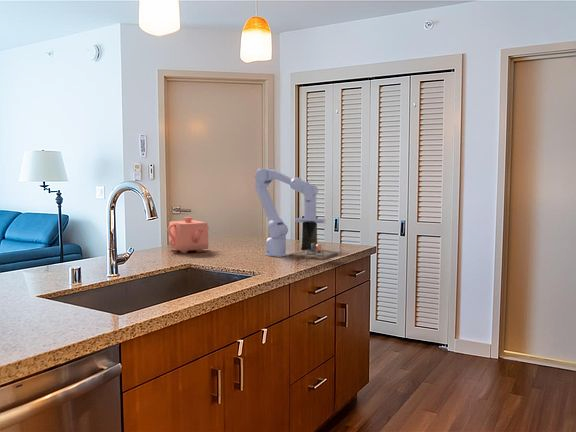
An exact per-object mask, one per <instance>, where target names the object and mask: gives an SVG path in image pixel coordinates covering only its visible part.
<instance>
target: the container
mask: <svg viewBox="0 0 576 432" xmlns="http://www.w3.org/2000/svg"><path fill="white" fill-rule="evenodd" d="M301 218H304V215H302V217H301ZM316 219H319V218H318V216H317V215H316ZM308 222H314V221H308ZM301 225H302V226H301V227H302V229H301V231H302V232H301V233H302V234H301V236H302V238H301V247H300V249H301V250H300V251H304V250H311V243H316V248H317V244H318V223H317V224H316V226H315V228H314V231H313V234H312V238H308V234H307V231H306V228H305V226H304V222H302V224H301Z"/></svg>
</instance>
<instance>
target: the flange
mask: <svg viewBox="0 0 576 432" xmlns="http://www.w3.org/2000/svg"><path fill="white" fill-rule="evenodd" d="M321 250H322V244H321V243H317V248H316V251H315V252H313V251H311V250H306V251H305V253H307V254H315V255H317V256H318V255H322V251H321Z"/></svg>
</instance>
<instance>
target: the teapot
mask: <svg viewBox="0 0 576 432" xmlns="http://www.w3.org/2000/svg"><path fill="white" fill-rule="evenodd" d="M183 218H184V220H174V221H169V225H168V227H167V228H166V229H167V230H166V231H167V234H168V246H169V248H172V249H173V250H174V252H180V254H188V253H187V252H190V251H195V252H197V253H203V250H207V249H208V250H209V228H210V227H209V225H208V222H205V221H200V220H196V219H195V220H194V219H193V217H192V216H185V217H183Z"/></svg>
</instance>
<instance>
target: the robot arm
mask: <svg viewBox="0 0 576 432" xmlns="http://www.w3.org/2000/svg"><path fill="white" fill-rule="evenodd" d="M254 179H255V191H256V194H257V196H258V198H259V201H260V204H261V205H262V208H263V210H264V213H265V215H266V217H267V220H268V224H267V226H268V233H269V237H268V238H267V239H266V242H265V254H264V256H269V257H277V258H282V257H286V256H289V254H290V253H286V251H287V250H286V249H287V248H286V247H287V243H286V242H287V239H286V238H287V237H286V236H287V234H288V233H289V228H288V226H287V224H286V223H285V222H284V220H283V219H282V218H281V217H280V216H279V214H278V211H277V210H276V207H275V204H274V202H273V200H272V197H271V195H270V193H269V190H268V187H269V185H270V184H271V183H272V181H274V180H278V181H280V182H282V183H285V184H287V185H289V186H290V189H292V190H294V191H296V192H298V193H301V194H302V195H303V196H304V203H303V204H304V205H303V208H304V209H303V211H304V212H303V216H304V218H302V217H295V219H294V221H295V222H294V223H303V222H304V226H305V228H306V231H307V234H308V238H312V234H313V231H314V228H315V226H316V224H317V225H318V224H326V218H317V219H316V216H317V194H318V192H319V187H317V185H315V184H313V183H310V181H305V180H302V178H301V177H294V178H292V177H290V176H288V175H286V174H284V173H282V172H280V171H278V170H275V169H272V168H263V167H260V168H258V169H257V170H256V172H255V174H254ZM308 221H314V222H308Z"/></svg>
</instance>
